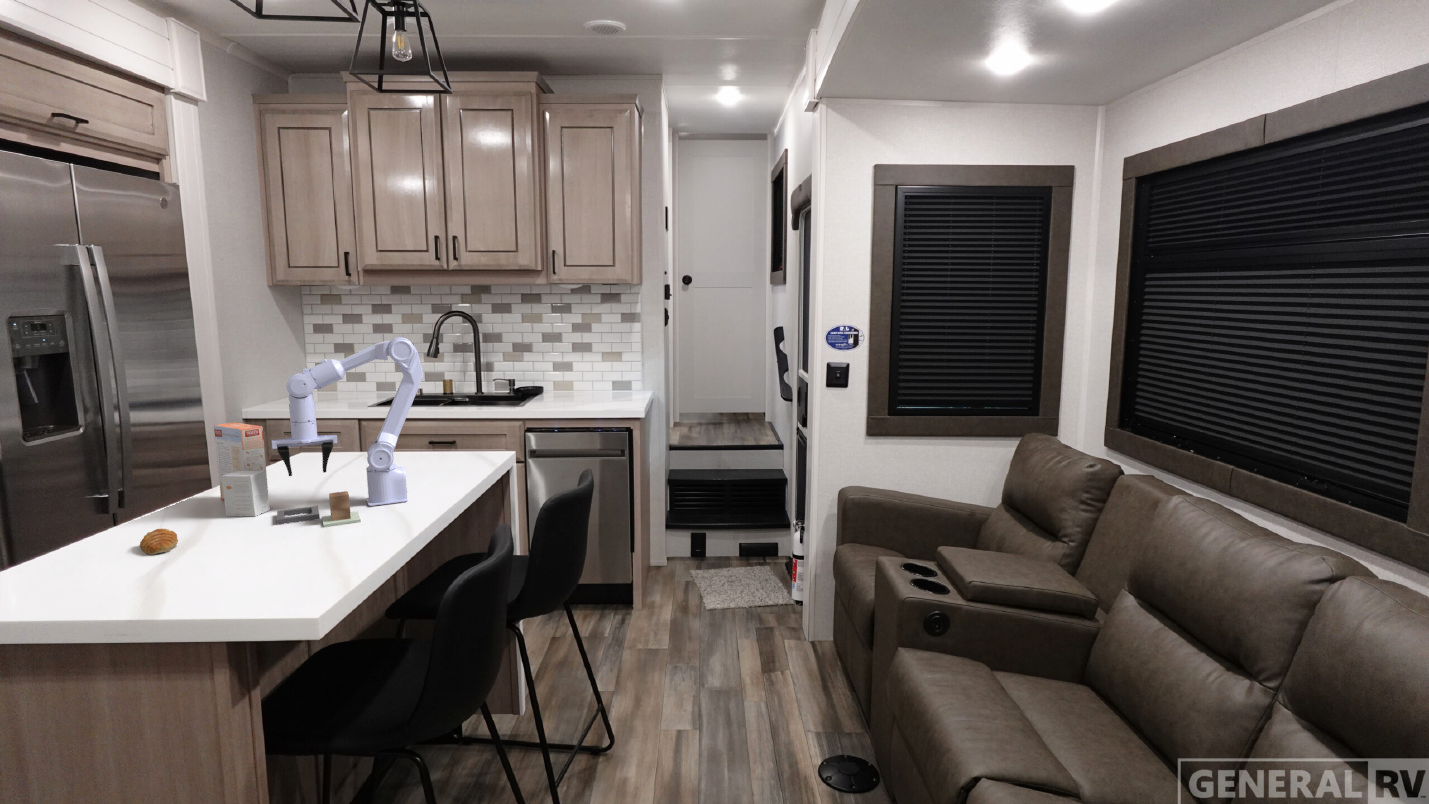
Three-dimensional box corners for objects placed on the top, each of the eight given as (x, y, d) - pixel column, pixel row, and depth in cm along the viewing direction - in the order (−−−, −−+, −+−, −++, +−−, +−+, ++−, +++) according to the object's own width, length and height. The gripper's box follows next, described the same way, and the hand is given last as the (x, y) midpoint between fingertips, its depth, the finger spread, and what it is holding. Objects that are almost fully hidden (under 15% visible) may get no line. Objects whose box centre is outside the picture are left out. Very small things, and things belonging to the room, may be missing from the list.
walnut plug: (349, 514, 185) (347, 491, 184) (350, 518, 182) (348, 494, 181) (331, 517, 183) (329, 493, 182) (332, 521, 180) (330, 497, 179)
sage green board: (357, 513, 188) (357, 511, 188) (360, 521, 181) (360, 519, 181) (322, 518, 184) (321, 516, 184) (323, 527, 177) (323, 524, 177)
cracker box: (271, 503, 198) (263, 425, 195) (246, 508, 193) (239, 429, 190) (244, 495, 206) (236, 421, 203) (220, 501, 201) (212, 424, 198)
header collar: (318, 509, 191) (317, 505, 191) (319, 518, 184) (319, 514, 184) (277, 515, 187) (277, 510, 187) (277, 524, 179) (277, 519, 179)
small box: (270, 510, 191) (266, 470, 190) (255, 517, 186) (251, 475, 184) (241, 510, 192) (237, 470, 191) (225, 516, 187) (220, 475, 185)
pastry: (180, 552, 161) (178, 535, 160) (141, 559, 157) (138, 542, 156) (177, 541, 168) (175, 524, 168) (140, 547, 164) (137, 531, 164)
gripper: (270, 425, 182) (274, 480, 184) (336, 420, 189) (340, 473, 191) (270, 421, 188) (274, 474, 190) (334, 416, 195) (338, 467, 197)
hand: (307, 473), depth 191 cm, fingers open, 7 cm apart
